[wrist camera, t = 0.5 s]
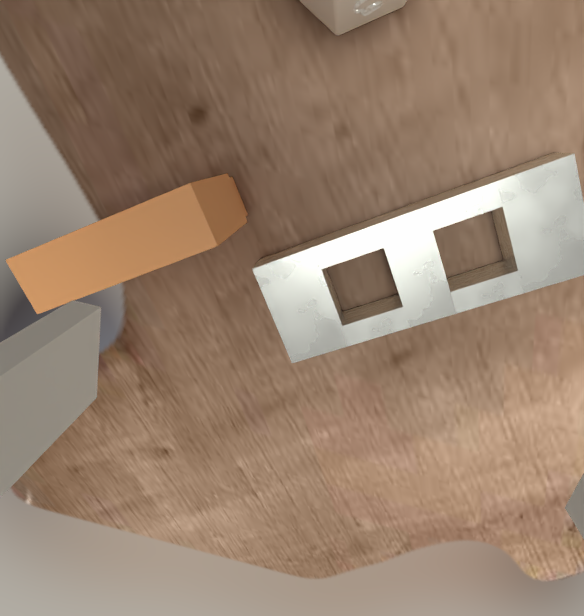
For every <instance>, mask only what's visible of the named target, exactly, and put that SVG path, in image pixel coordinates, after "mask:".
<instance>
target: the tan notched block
mask: <svg viewBox="0 0 584 616" xmlns="http://www.w3.org/2000/svg"><path fill="white" fill-rule="evenodd" d="M247 215H248V214H247V211H246V209H245V206H244V204H243V201H242V199H241V197H240V194H239V192H238V189H237V187H236V184H235V182H234V179H233V177H229V176H228V174H223V175H219V176H215V177H211V178H207V179H203V180H199V181H195V182H191V183H189V184H186V185H184V186H181V187H179V188H177V189H174V190H172V191H169V192H167V193H165V194H162V195H160V196H157V197H155V198H153V199H150V200H148V201H145V202H143V203H141V204H138V205H136V206H133V207H131V208H129V209H126V210H124V211H122V212H119V213H117V214H114V215H112V216H110V217H107V218H105V219H102V220H100V221H98V222H95V223H93V224H91V225H88V226H86V227H83V228H81V229H78V230H76V231H74V232H71V233H69V234H67V235H64V236H62V237H59V238H57V239H55V240H52V241H50V242H47V243H45V244H43V245H40V246H38V247H36V248H33V249H31V250H28V251H26V252H23V253H21V254H19V255H16V256H14V257H11V258H9V259H7V260H6V262H7V264H8V265H9V267H10V269H11V270H12V272H13V274H14V275H15V277H16V279H17V281H18V282H19V284H20V286H21V287H22V289H23V291H24V293H25V294H26V296H27V298H28V299H29V301H30V303H31V304H32V306H33V308H34V309H35V311H36V313H37V314H39V313H42V312H45V311H47V310H50V309H53V308H55V307H58V306H60V305H63V304H66V303H69V302H70V301H72V300H73V301H74V300H76V299H79V298H82V297H84V296H87V295H90V294H92V293H95V292H97V291H100V290H103V289H106V288H108V287H111V286H113V285H116V284H119V283H122V282H124V281H127V280H129V279H132V278H135V277H137V276H140V275H143V274H145V273H148V272H151V271H153V270H156V269H159V268H161V267H164V266H167V265H169V264H172V263H174V262H177V261H180V260H182V259H185V258H188V257H190V256H193V255H196V254H198V253H201V252H204V251H206V250H209V249H212V248H214V247H217V246H219V245H220V244H221V243H222V242H223V241H225V240H226V239H227V238H228V237H230V236H231V235H232V234H233V233H234V232H236V231H237V230H238V229H239V228H241V227H242V226H243V225H244V224H246V223H247V220H246V216H247Z"/></svg>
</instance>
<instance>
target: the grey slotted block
mask: <svg viewBox="0 0 584 616" xmlns="http://www.w3.org/2000/svg"><path fill="white" fill-rule="evenodd" d="M488 211H491V212H492V216H493V220H494V224H495V228H496V232H497V236H498V240H499V244H500V248H501V252H502V256H503V261H500V262H496V263H493V264H490V265H487V266H484V267H481V268H478V269H475V270H471V271H468V272H465V273H462V274H459V275H456V276H453V277H450V278H446V275H445V271H444V268H443V265H442V261H441V258H440V254H439V251H438V247H437V244H436V240H435V237H434V234H433V231H434V230H436V229H439V228H442V227H445V226H448V225H451V224H454V223H457V222H460V221H462V220H465V219H468V218H471V217H474V216H477V215H480V214H483V213H486V212H488ZM382 248H384V251H385V255H386V258H387V261H388V264H389V267H390V270H391V273H392V276H393V279H394V282H395V285H396V288H397V291H398V294H397V295H394V296H390V297H387V298H384V299H381V300H378V301H375V302H372V303H369V304H365V305H362V306H359V307H356V308H353V309H350V310H347V311H344V312H342V309H341V307H340V304H339V301H338V298H337V296H336V293H335V290H334V288H333V285H332V282H331V280H330V277H329V274H328V271H327V269H326V268H327V267H329V266H332V265H335V264H338V263H341V262H344V261H347V260H350V259H353V258H355V257H358V256H361V255H364V254H367V253H370V252H373V251H376V250H379V249H382ZM252 270H253V272H254V274H255V277H256V279H257V281H258V284H259V286H260V289H261V291H262V293H263V296H264V298H265V300H266V303H267V305H268V308H269V310H270V312H271V315H272V317H273V319H274V322H275V324H276V326H277V329H278V331H279V334H280V336H281V338H282V341H283V343H284V345H285V348H286V350H287V353H288V355H289V357H290V360H291V362H292V363H294V362H298V361H301V360H304V359H308V358H311V357H314V356H318V355H321V354H324V353H328V352H331V351H334V350H337V349H341V348H344V347H347V346H351V345H354V344H357V343H361V342H364V341H367V340H371V339H374V338H377V337H380V336H384V335H387V334H390V333H394V332H397V331H400V330H404V329H407V328H410V327H413V326H417V325H420V324H423V323H427V322H430V321H433V320H437V319H440V318H443V317H447V316H450V315H453V314H456V313H460V312H463V311H466V310H470V309H473V308H476V307H480V306H483V305H486V304H490V303H493V302H496V301H499V300H503V299H506V298H509V297H513V296H516V295H519V294H523V293H526V292H529V291H532V290H536V289H539V288H542V287H546V286H549V285H552V284H556V283H559V282H562V281H566V280H569V279H572V278H575V277H579V276H582V275H584V203H583V197H582V192H581V186H580V181H579V176H578V170H577V165H576V160H575V154H574V153H551V154H548V155H545V156H543V157H540V158H537V159H534V160H532V161H529V162H526V163H523V164H521V165H518V166H515V167H512V168H510V169H507V170H504V171H501V172H499V173H496V174H493V175H490V176H487V177H485V178H482V179H479V180H476V181H474V182H471V183H468V184H465V185H463V186H460V187H457V188H454V189H452V190H449V191H446V192H443V193H441V194H438V195H435V196H432V197H430V198H427V199H424V200H421V201H419V202H416V203H413V204H410V205H407V206H405V207H402V208H399V209H396V210H394V211H391V212H388V213H385V214H383V215H380V216H377V217H374V218H372V219H369V220H366V221H363V222H361V223H358V224H355V225H352V226H350V227H347V228H344V229H341V230H339V231H336V232H333V233H330V234H327V235H325V236H322V237H319V238H316V239H314V240H311V241H308V242H305V243H303V244H300V245H297V246H294V247H292V248H289V249H286V250H283V251H281V252H278V253H275V254H272V255H270V256H267V257H264V258H261V259H259V260H258V262H257V263H256V265H255V266H254V267H253V269H252Z"/></svg>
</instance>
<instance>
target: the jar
mask: <svg viewBox="0 0 584 616" xmlns="http://www.w3.org/2000/svg"><path fill="white" fill-rule="evenodd" d="M299 1H300V2H301V3H302V4H303V5H304V6H305V7H307V8H308V9H309V10H310V11H311V12H312V13H313V14H314V15H315V16H316V17H317V18H318V19H319V20H320V21H321V22H322V23H323V24H325V25H326V26H327V27H328V28H329V29H330V30H331V31H332V32H333V33H334V34H335V35H341V34H343V33H346V32H348V31H350V30H352V29H354V28H357V27H359V26H361V25H363V24H366V23H368V22H370V21H372V20H375V19H377V18H379V17H381V16H384V15H386V14H388V13H390V12H393V11H395V10H397V9H400V8H402V7H403V6H404V5H405V4H406V1H407V0H299Z"/></svg>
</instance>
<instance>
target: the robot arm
mask: <svg viewBox="0 0 584 616" xmlns="http://www.w3.org/2000/svg"><path fill="white" fill-rule="evenodd" d="M100 320H101V307H99V306H95V305H90V304H86V303H81V302H77V301H73V300H72V301H70V302H69V303H67V304H65V305H64V306H62V307H60V308H59V309H57V310H55V311H54V312H52V313H50V314H49V315H47V316H45V317H43V318H42V319H40V320H38V321H36V322H35V323H33V324H31V325H30V326H28V327H26V328H25V329H23V330H21V331H19V332H18V333H16V334H14V335H13V336H11V337H9V338H8V339H6V340H4V341H2V342H1V343H0V498H1V497H2V496H3V494H4V493H5V492H6V491H7V490H8V489H9V488H10V487H11V486H12V485H13V484H14V483H15V482H16V481H17V480H18V479H19V478H20V477H21V476H22V475H23V474H24V473H25V472H26V471H27V470H28V468H29V467H30V466H31V465H32V464H33V463H34V462H35V461H36V460H37V459H38V458H39V457H40V456H41V455H42V454H43V453H44V452H45V451H46V450H47V449H48V448H49V447H50V446H51V445H52V444H53V442H54V441H55V440H56V439H57V438H58V437H59V436H60V435H61V434H62V433H63V432H64V431H65V430H66V429H67V428H68V427H69V426H70V425H71V424H72V423H73V422H74V421H75V420H76V419H77V417H78V416H79V415H80V414H81V413H82V412H83V411H84V410H85V409H86V408H87V407H88V406H89V405H90V404H91V403H92V402H93V401H94V400H95V399H96V398H97V381H98V361H99V340H100ZM565 509H566V511H567V512H568V514H569V515H570V517H571V519H572V520H573V522H574V524H575V525H576V527H577V529H578V530H579V532H580V534H581V535H582V537H583V539H584V474H583V475H582V477H581V479H580V481H579V483H578V485H577V486H576V488H575V490H574V492H573V494H572V495H571V497H570V499H569V501H568V503H567V505H566V506H565Z"/></svg>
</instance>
